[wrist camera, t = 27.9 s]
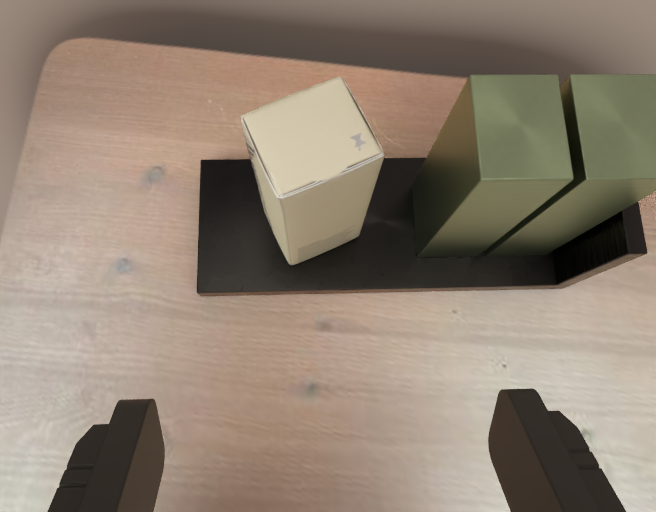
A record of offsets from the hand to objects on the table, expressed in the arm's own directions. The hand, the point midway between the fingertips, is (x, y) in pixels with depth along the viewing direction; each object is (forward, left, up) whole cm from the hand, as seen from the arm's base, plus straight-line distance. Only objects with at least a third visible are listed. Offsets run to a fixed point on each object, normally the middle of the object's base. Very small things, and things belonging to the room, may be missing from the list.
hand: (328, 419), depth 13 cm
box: (+2, +11, -21) cm, 23 cm away
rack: (+7, +10, -22) cm, 25 cm away
